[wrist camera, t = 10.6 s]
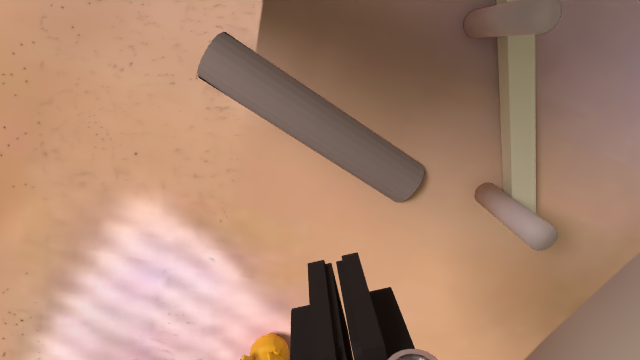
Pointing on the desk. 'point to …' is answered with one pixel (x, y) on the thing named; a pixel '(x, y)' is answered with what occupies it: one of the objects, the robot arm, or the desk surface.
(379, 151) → the half round rod
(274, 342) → the pressure relief valve
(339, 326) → the robot arm
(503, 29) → the peg rack
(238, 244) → the desk surface
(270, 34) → the desk surface
